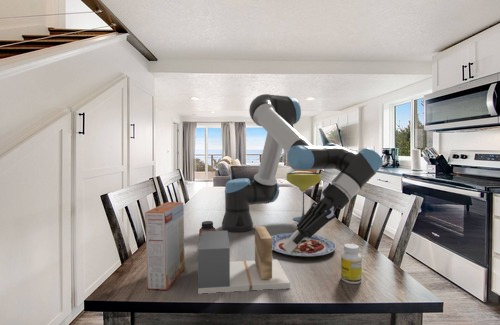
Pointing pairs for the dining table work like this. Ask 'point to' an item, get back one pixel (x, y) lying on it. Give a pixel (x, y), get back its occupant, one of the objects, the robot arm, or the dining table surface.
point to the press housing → (231, 268)
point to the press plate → (263, 252)
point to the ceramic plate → (304, 245)
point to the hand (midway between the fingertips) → (285, 249)
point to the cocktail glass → (303, 183)
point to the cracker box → (164, 244)
